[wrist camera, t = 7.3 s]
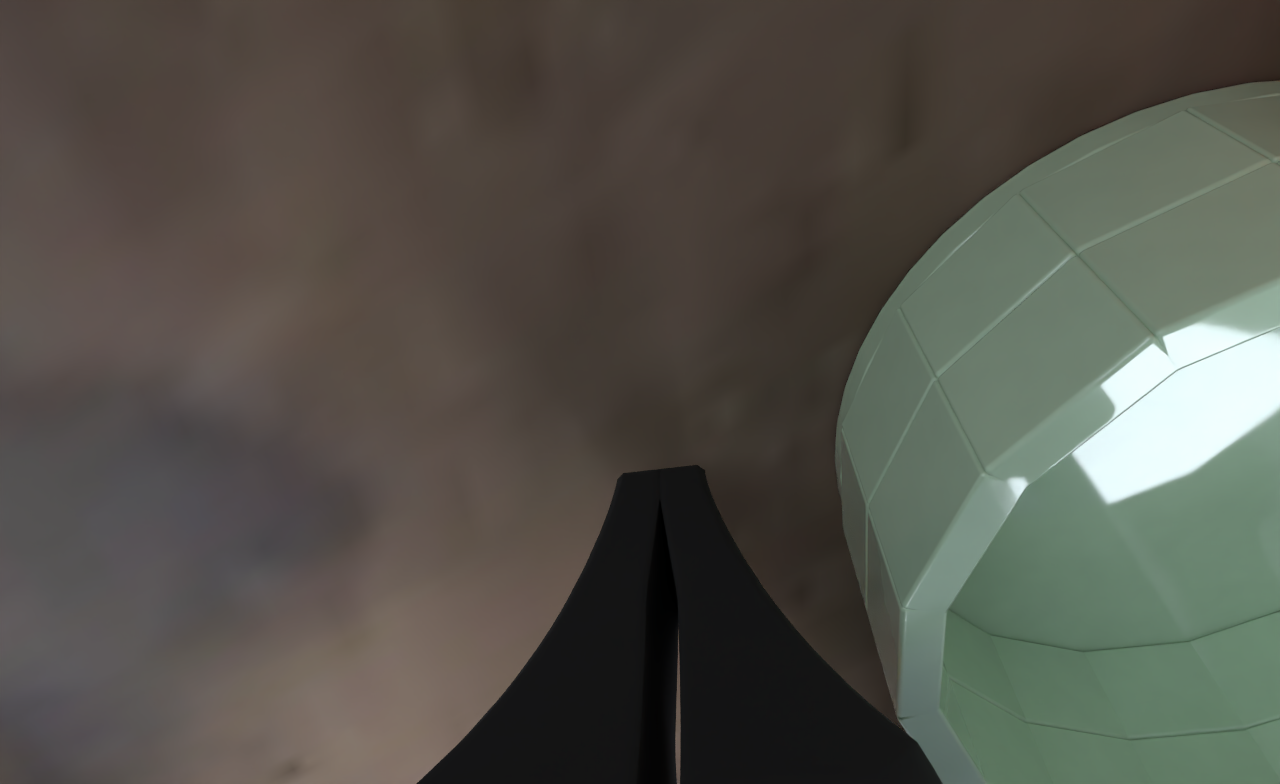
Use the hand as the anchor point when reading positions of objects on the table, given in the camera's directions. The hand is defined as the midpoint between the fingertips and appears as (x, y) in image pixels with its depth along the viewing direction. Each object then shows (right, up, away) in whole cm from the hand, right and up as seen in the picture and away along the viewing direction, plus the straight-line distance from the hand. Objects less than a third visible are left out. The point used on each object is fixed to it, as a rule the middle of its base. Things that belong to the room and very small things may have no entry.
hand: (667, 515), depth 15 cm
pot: (+8, +2, 0) cm, 9 cm away
